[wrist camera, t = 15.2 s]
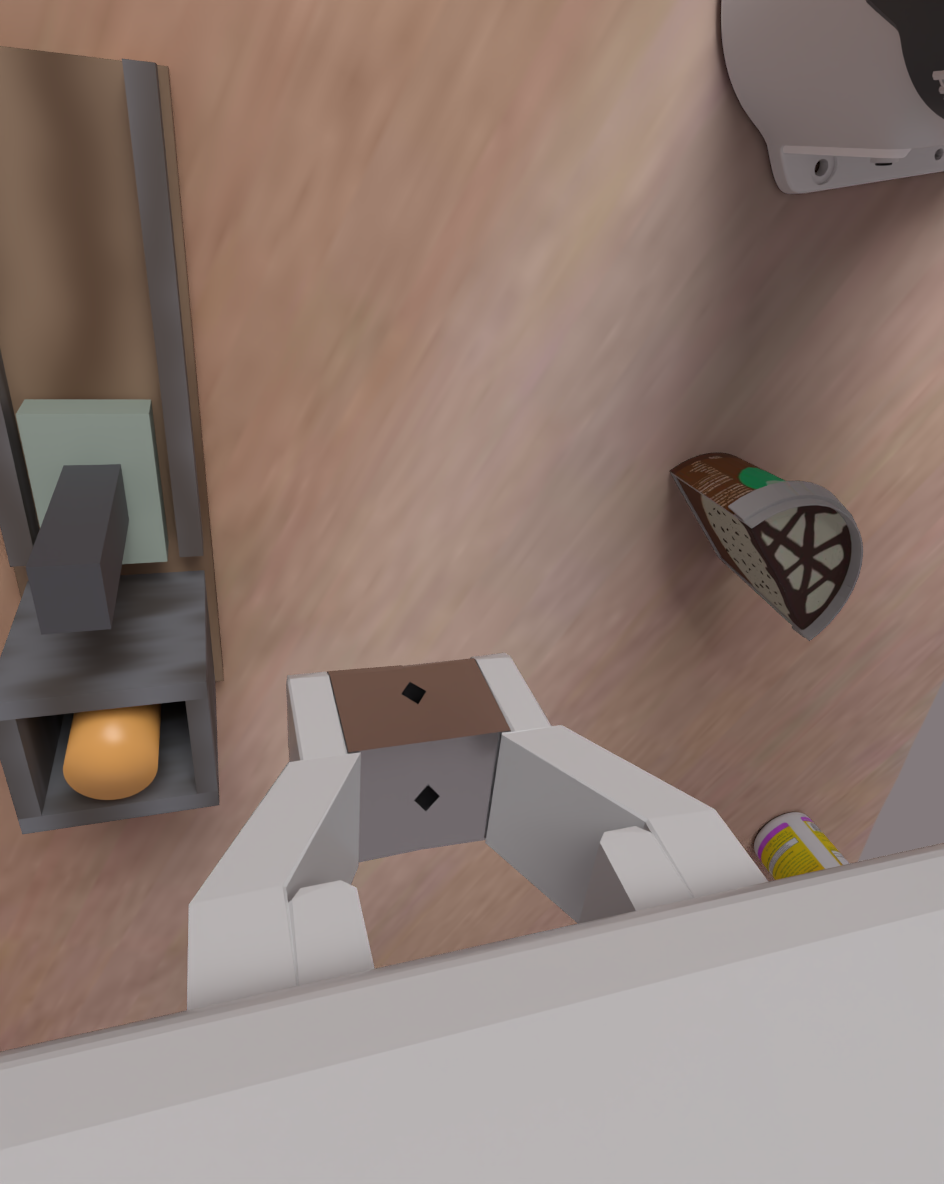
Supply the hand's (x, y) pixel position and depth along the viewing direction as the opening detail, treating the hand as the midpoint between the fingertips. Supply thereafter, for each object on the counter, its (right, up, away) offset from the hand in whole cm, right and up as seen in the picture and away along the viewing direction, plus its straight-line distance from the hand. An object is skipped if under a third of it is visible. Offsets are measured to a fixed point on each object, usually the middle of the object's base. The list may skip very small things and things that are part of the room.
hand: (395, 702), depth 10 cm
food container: (+19, +9, +44) cm, 49 cm away
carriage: (-18, +7, +29) cm, 35 cm away
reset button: (-17, -4, +30) cm, 35 cm away
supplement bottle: (+33, -23, +69) cm, 80 cm away
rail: (-18, +10, +29) cm, 36 cm away
